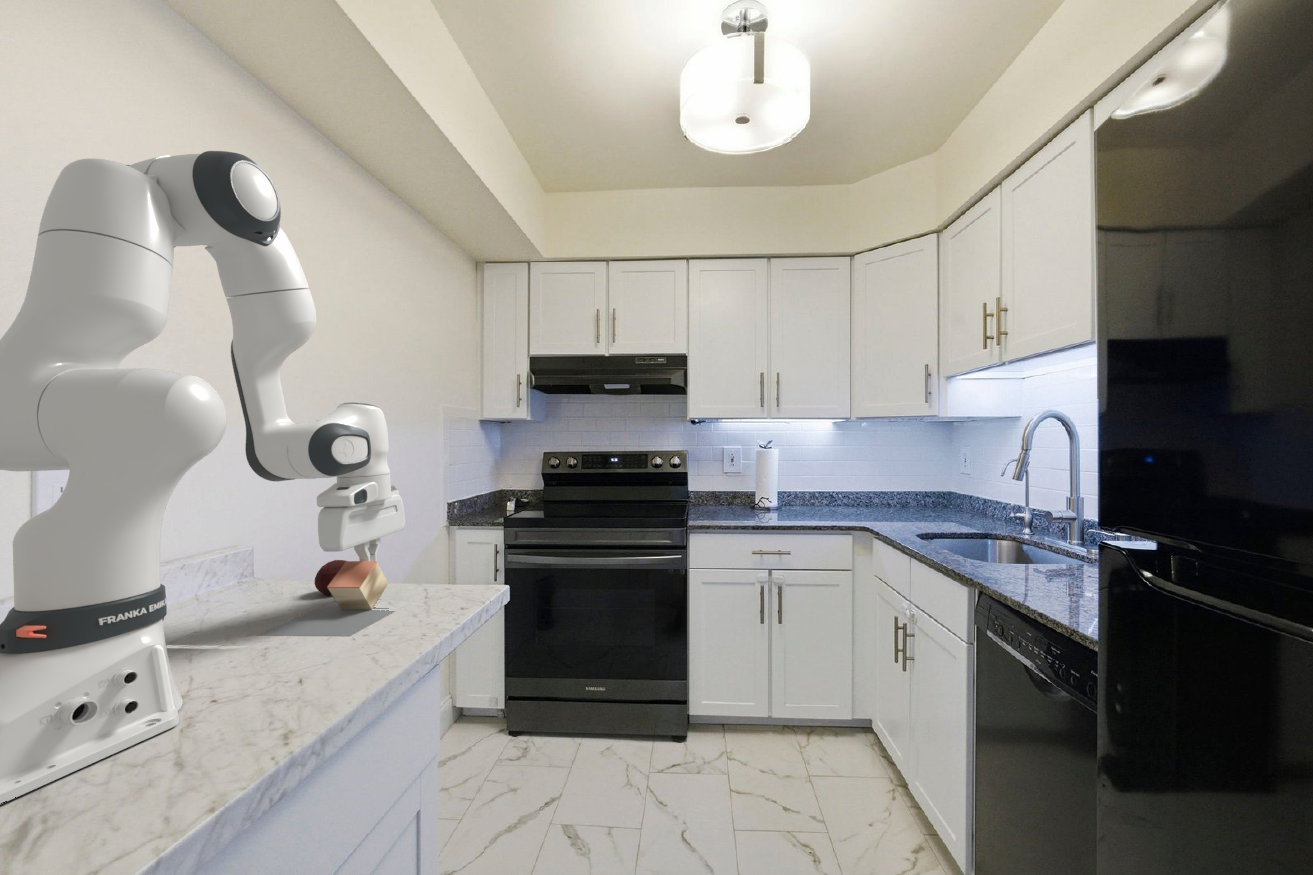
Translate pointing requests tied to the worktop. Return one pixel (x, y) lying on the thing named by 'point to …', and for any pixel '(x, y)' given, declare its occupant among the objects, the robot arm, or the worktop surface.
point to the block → (358, 585)
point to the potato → (327, 575)
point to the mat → (328, 622)
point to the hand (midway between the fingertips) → (368, 564)
